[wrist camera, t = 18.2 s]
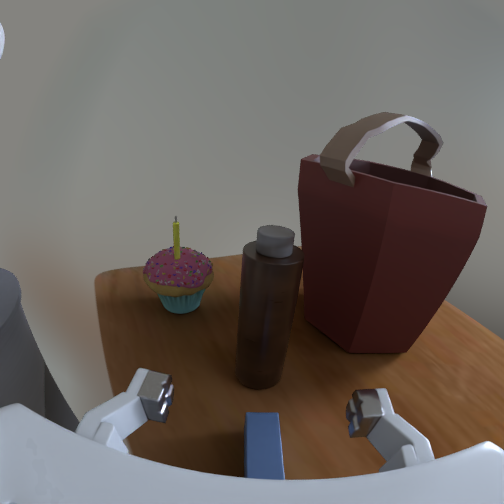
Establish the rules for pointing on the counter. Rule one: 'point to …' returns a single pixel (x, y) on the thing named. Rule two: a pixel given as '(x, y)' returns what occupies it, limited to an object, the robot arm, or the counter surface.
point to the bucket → (380, 239)
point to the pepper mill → (267, 305)
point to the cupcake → (179, 275)
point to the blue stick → (263, 447)
